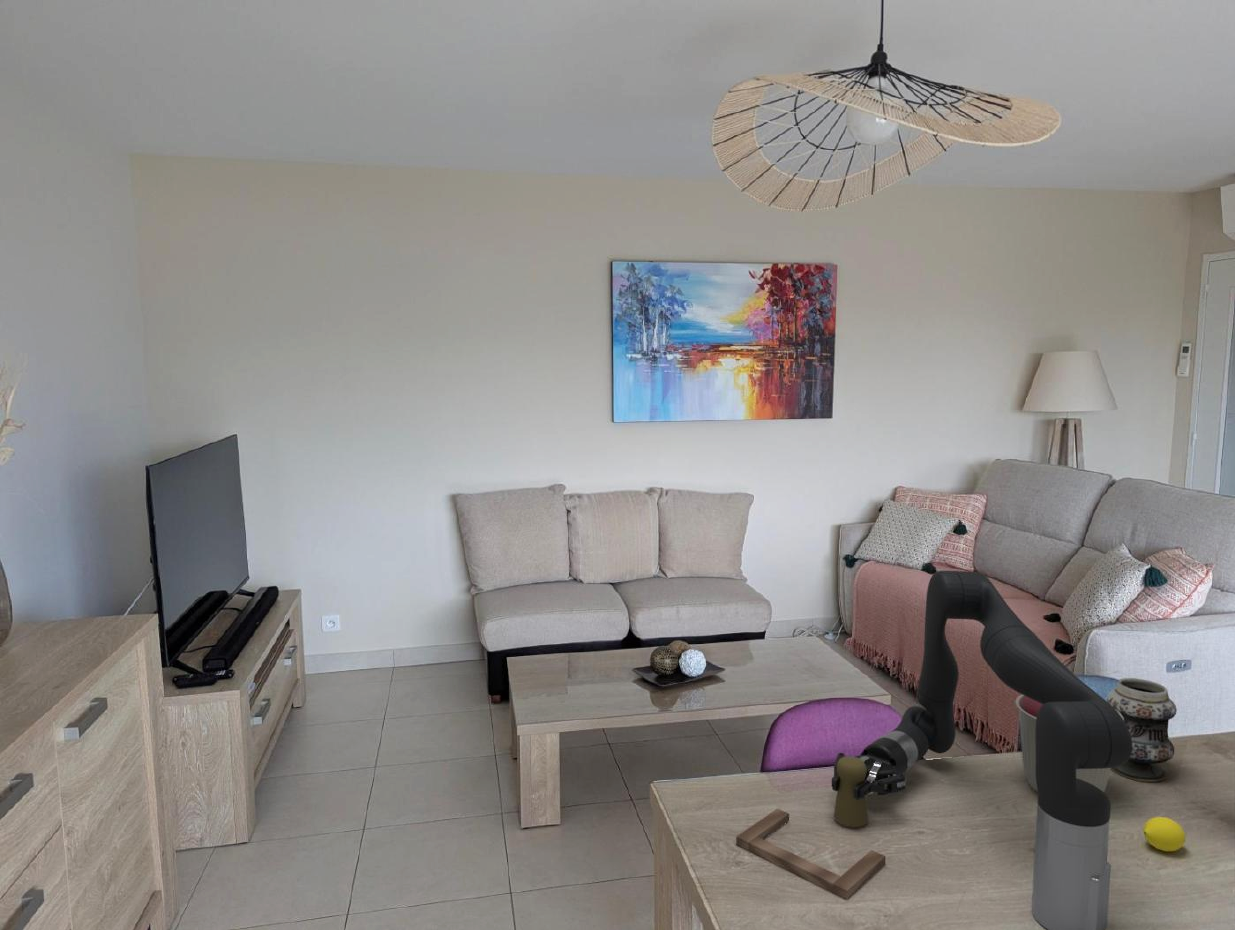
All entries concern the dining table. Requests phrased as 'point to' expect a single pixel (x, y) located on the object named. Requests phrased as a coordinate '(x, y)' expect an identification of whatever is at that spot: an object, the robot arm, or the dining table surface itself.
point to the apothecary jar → (1144, 727)
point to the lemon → (1164, 834)
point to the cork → (850, 793)
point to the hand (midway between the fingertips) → (845, 789)
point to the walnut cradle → (803, 868)
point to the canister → (1027, 726)
